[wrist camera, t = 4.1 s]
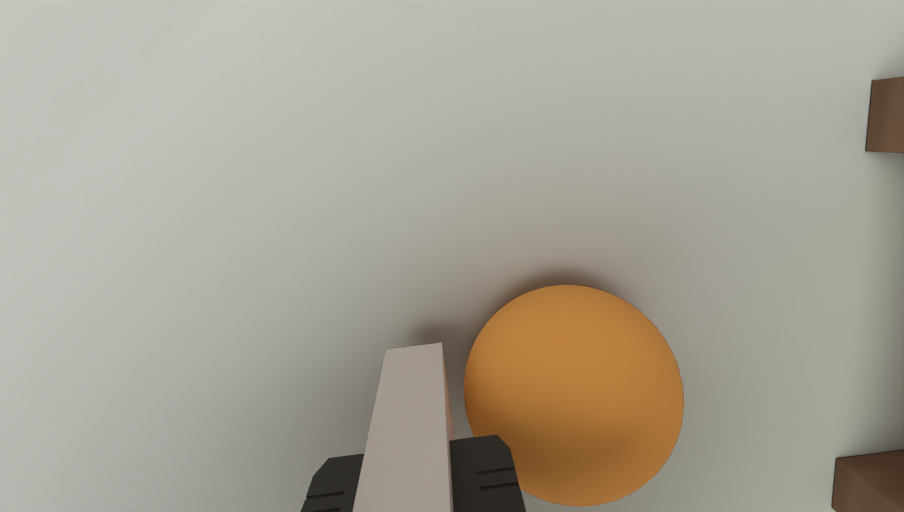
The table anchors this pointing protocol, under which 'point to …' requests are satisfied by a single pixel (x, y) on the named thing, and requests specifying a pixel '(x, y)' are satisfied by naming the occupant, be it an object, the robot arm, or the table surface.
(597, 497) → the ball
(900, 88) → the bridge
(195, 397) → the table surface
